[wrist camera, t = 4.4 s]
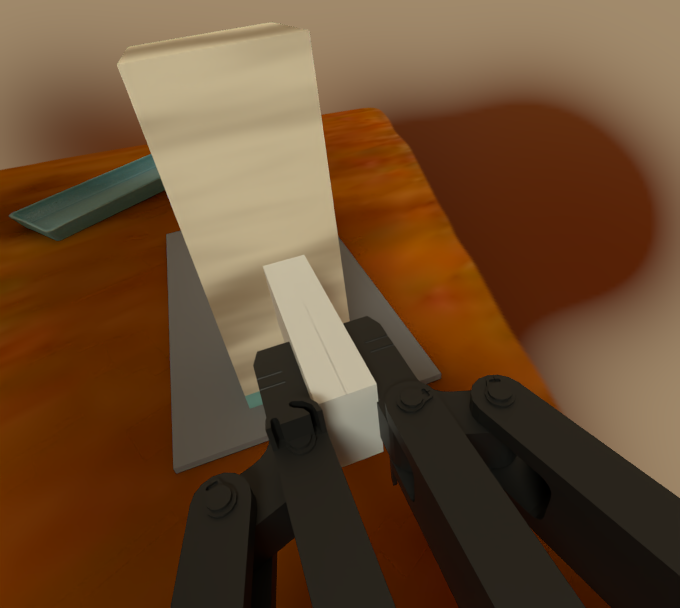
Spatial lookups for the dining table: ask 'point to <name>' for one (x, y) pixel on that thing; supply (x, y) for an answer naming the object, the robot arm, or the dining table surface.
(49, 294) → the dining table surface
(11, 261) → the dining table surface
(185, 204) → the birch block
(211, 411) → the rubber mat
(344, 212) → the dining table surface
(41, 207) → the shallow long dish
